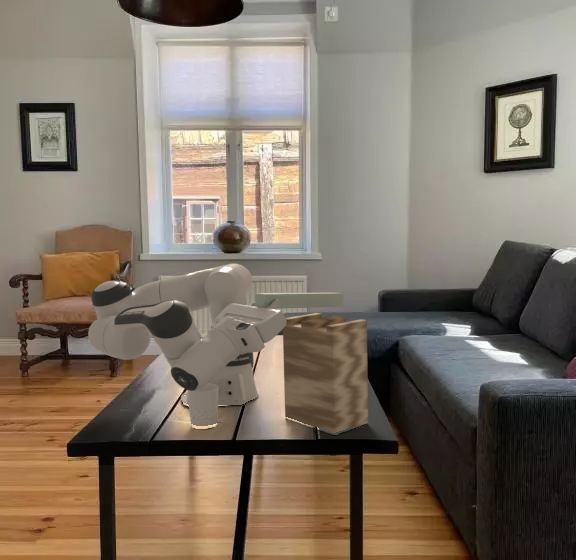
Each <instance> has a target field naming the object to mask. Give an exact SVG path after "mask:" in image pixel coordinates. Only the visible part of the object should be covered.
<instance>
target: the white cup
mask: <svg viewBox="0 0 576 560" xmlns="http://www.w3.org/2000/svg"><path fill="white" fill-rule="evenodd" d="M186 391H187V392H188V403H189V409H188V410H189V417H190V425H191V424H193V425H196V426H208V425H213V424H216V423H217V422H218V421H219V418H218V417H219V407H218V404H219V386H218V385H216V384H211V383H207V384H206V385H204V386H203V387H201V388H199V389H198V390H195V391H189V390H186ZM218 423H219V422H218Z"/></svg>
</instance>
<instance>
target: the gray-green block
mask: <svg viewBox="0 0 576 560" xmlns="http://www.w3.org/2000/svg"><path fill="white" fill-rule="evenodd" d="M344 296H345V293H343V292H342V293H341V292H255V294H254V302H255V307H261V308H267V307H270V305H271V304H270V302H271V301H272V300H273V299H279V301H280V303H281V305H280V306H279V307H278V308H277V310H280V309H308V308H309V309H310V308H336V307H337V308H338V307H339V308H340V307H342V308H343V307H344V298H345V297H344Z"/></svg>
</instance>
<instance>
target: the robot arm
mask: <svg viewBox="0 0 576 560" xmlns="http://www.w3.org/2000/svg"><path fill="white" fill-rule="evenodd" d="M252 287H253V276H252V273H251V272H250V270H249V269H248V268H247V267H246V266H244V265H242V264H239V263H227V264H223V265H219V266H216V267H212V268H206V269H203V270H198V271H194V272H189V273H186V274H185V273H184V274H181V275H176V276H172V277H168V278H163V279H159V280H155V281H152V282H148V283H146V284H144V285H141V286H139V287H135V286H134V285H132V284H128V283H127V282H124V281H121V280H118V279H116V280H107V281H105V282H102V283H100V284H99V285H97V286H96V287H95V288H93V290H92V291H91V294H90V295H91V296H90V297H91V303H92V306H93V307H94V311H95V315H96V317H97V319H95V320H94V321H93V322H92V323H91V325H90V326H89V329H88V331H87V332H88V333H87V334H88V336H87V337H88V341H89V343H90V345H91V346H92V347H93V348H94V349H95V350H96V351H98V352H100V353H102V354H104V355H106V356H110V357H112V358H114V359H115V358H116V359H119V360H126V361H128V360H134V359H137V358H139V357H141V356H142V355H143V354H145V352H146V351H147V349H148V347H149V345H150V344H151V339H152V337H153V339H154V340H155V342H156V344H157V345H158V347H159V348H160V350H161V352H162V354H163V356H164V358H165V359H166V361H167V363H168V364H169V366H170V368H171V369H170V375H171V377H172V379H173V381H175V383H176V384H177V385H178V386H180V387H181V388H183V389H184V390H186V391H187V390H189V391H195V390H198V389H199V388H201V387H203V386H204V385H206V384H207V383H211V384H216V385H218V386H219V404H218V405H242V404H244V405H246V404H247V403H249V402H251V401H250V400H252V401H254V400H255V398H256V399H257V398H258V397H259V393H258V391H257V386H256V382H255V377H254V369H253V368H254V363H255V362H254V353H259V352H261V351H262V350H264V348H265V344H267V343H269V342H270V341H271V340H273V339H274V338H276V336H277V335H278V334H279V333H281V331H283V328H284V327H285V326H286V322H287V321H286V318H287V317H285V314H284V312H283V311H282V310H280V309H277V308H278V307H279V306H280V305H281V303H280V301H279V299H273V300H272V301H271V302H270V304H271V305H270V307H267V308H261V307H255V301H252V302H249V304H247V296H248V295H249V294H250V292H251V291H252V289H253V288H252ZM207 308H209V309H208V310H209V314H210V318H211V326H210V329H209V330H208V331H207V333H206V335H205V336H203V335H202V334H201V332H200V331H199V329H198V327H197V325H196V323H195V321H194V319H193V316H192V313H193V312H196V311H200V310H203V309H207ZM186 391H185V392H184V393H182V394H181V397H180V400H181V399H182V401H183V402H184V403H186V402H187V403H186V404H188V405H189V403H188V392H186ZM184 395H186V396H184ZM253 399H254V400H253ZM248 401H249V402H248ZM246 402H247V403H246ZM245 403H246V404H245ZM242 406H243V405H242Z"/></svg>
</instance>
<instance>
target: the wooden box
mask: <svg viewBox="0 0 576 560" xmlns="http://www.w3.org/2000/svg"><path fill="white" fill-rule="evenodd" d="M322 315H323V314H322V313H320V312H314V313H307V314H303V315H295V316H291V317H285V318H286V321H287V322H286V326H285V327H284V328H283V329H282V343H283V344H282V346H283V347H282V348H283V381H284V383H283V384H284V386H283V387H284V415H285V416H284V418H285V417H288V418H291V419H294V420H297V421H299V422H302V423H304V424H308V425H311V426H315V427H318V428H321V429H324V430H326V431H329V432H332V433H336V432H339V431H342V430H346V429H349V428H352V427H356V426H359V425H363V424H366V423H368V424H369V397H368V395H369V392H368V391H369V390H368V389H369V386H368V384H369V383H368V379H369V378H368V325H367V323H368V321H367V319H362V318H360V319H356V320H355V319H354V320H350V321H347V317H346V316H342V315H331V316H327V317H322Z"/></svg>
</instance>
